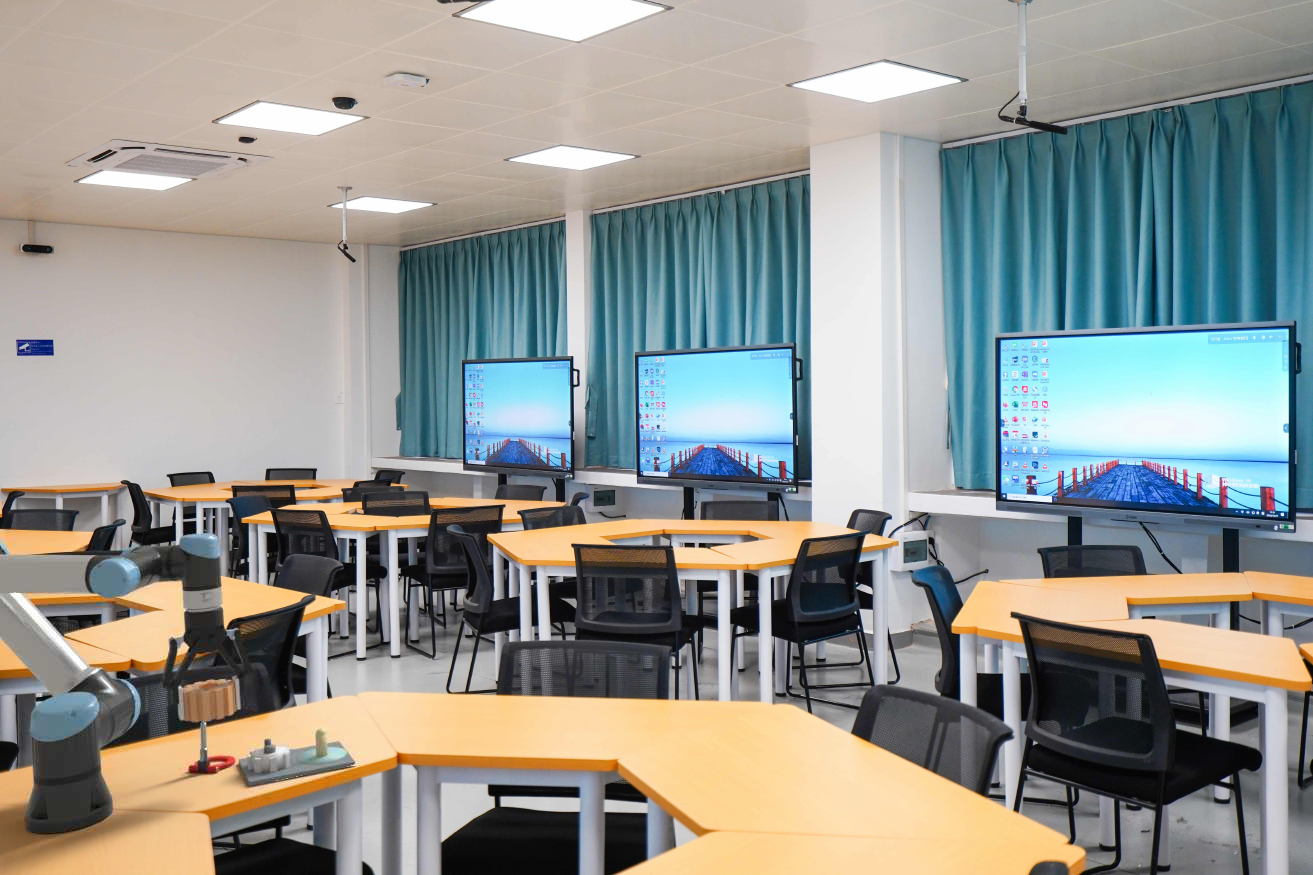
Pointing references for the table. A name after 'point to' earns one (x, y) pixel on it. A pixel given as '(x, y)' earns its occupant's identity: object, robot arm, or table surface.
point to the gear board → (293, 760)
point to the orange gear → (209, 700)
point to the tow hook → (204, 761)
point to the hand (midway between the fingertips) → (209, 713)
